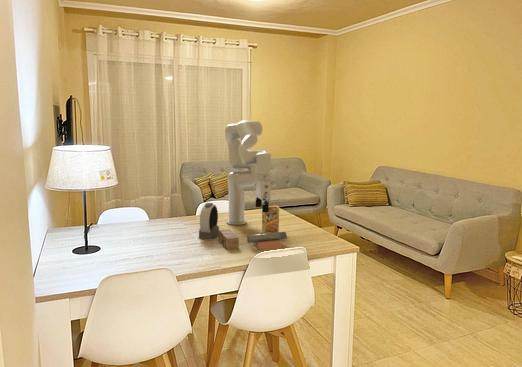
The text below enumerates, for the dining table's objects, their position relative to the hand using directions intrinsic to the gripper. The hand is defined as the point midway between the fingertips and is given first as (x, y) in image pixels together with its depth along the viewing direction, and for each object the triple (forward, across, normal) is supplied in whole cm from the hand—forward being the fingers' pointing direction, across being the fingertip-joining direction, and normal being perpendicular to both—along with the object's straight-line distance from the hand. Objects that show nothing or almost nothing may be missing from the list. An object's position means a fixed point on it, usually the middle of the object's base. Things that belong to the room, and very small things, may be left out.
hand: (261, 209), depth 205 cm
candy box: (+19, +14, -11) cm, 26 cm away
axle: (+13, -7, -1) cm, 15 cm away
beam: (+18, +2, +17) cm, 25 cm away
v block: (+17, -7, -1) cm, 19 cm away
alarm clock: (+19, +19, +23) cm, 35 cm away
